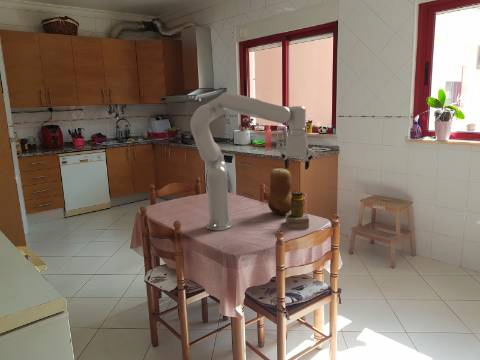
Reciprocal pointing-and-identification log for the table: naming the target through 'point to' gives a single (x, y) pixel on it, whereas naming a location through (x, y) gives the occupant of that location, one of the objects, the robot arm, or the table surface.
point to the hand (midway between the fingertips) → (296, 168)
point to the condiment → (296, 206)
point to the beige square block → (297, 222)
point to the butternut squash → (280, 191)
